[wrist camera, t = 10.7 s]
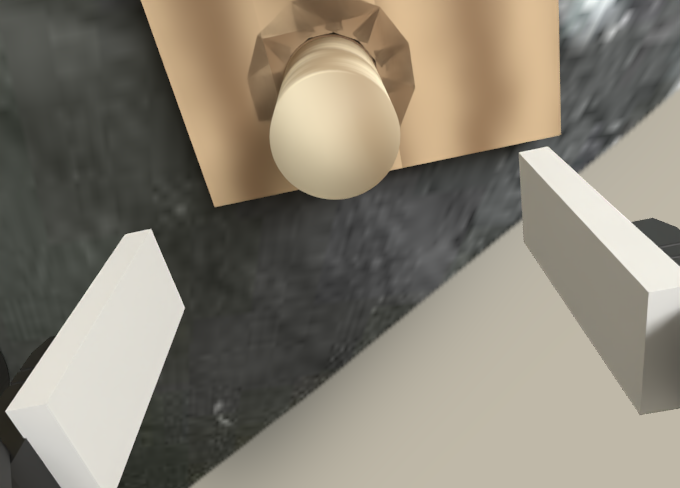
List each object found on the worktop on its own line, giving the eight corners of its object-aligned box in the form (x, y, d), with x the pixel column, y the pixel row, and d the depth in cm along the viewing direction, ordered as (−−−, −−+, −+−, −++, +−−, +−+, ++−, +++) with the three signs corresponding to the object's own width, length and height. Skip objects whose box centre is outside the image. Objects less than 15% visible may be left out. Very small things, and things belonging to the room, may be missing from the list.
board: (222, 188, 38) (214, 207, 35) (132, -74, 30) (114, -75, 28) (543, 121, 36) (560, 134, 34) (533, -176, 29) (554, -187, 26)
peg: (297, 126, 36) (287, 211, 24) (275, 38, 33) (251, 88, 22) (381, 107, 35) (410, 186, 24) (365, 17, 33) (389, 57, 21)
